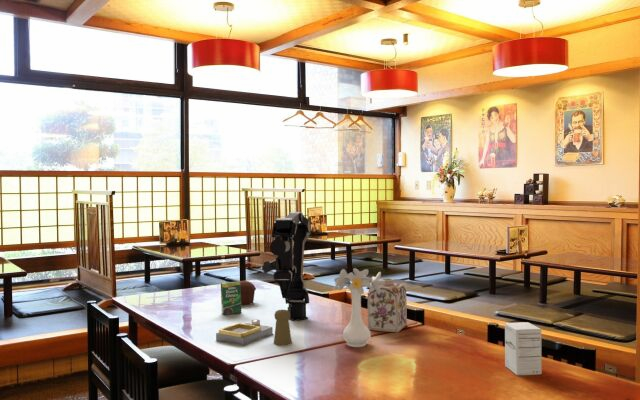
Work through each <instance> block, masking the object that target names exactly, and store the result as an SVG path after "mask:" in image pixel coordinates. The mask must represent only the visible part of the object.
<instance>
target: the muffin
mask: <svg viewBox="0 0 640 400" xmlns="http://www.w3.org/2000/svg"><path fill="white" fill-rule="evenodd" d="M238 281H239V282H240V288H241V306H250V305H252V304H254V299H255V291H256V290H257V287H256V286H255V285H254V284H253V283H252V282H251V281H248V280H238Z"/></svg>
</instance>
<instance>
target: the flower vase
mask: <svg viewBox="0 0 640 400" xmlns="http://www.w3.org/2000/svg"><path fill="white" fill-rule="evenodd" d="M352 270H353V272H349V273H348V272H347V270H346V269H345V268H342V269H341V270H340V272H339V276H338V277H335V278H334V279H333V282H334V285H335V286H334V287H333V288H332V290H331V291H334V290H335V289H337V290H338V291H342V290H343V289H345V288H344V287H346V288H348V290H349V291H350V295H351V316H350V320H349V322H348V324H347V325H346V326H345V327H344V329H343V332H342V338H343V340H344V341H345V342H347V346H349V347H351V348H363V347H366V346H367V342H368V341H370V339H371V337H372V333H371V330H369V329H368V325H366V324H365V322H364V320H363V316H362V315H363V313H362V295H363V294H365V293H364V292H365V290H364V287H367V288H369V289H370V288H371V291H372V292H373V291H374V289H375V290H376V292H377V293H378V294H380V288H379V286H382V285H384V284H385V281H384V280H381V279H380V278H381V276H382V272H381V271H379V272H378V273H377V274H376V276H372V277H369V276H368V274H369V269H368V268H366V269H364V270H363V269H362V270H361V271H360V270H359V269H357V268H356V267H354V268H353V269H352ZM371 285H372V286H371ZM377 285H378V286H377Z"/></svg>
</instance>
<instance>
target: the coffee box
mask: <svg viewBox="0 0 640 400" xmlns="http://www.w3.org/2000/svg"><path fill="white" fill-rule="evenodd" d="M239 281H240V280H236V281H230V282H221V283H220V300H221V304H220V305H221V315H223V316H226V315H228V316H229V315H235V314H242V305H241V288H240V282H239Z"/></svg>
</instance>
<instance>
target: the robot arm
mask: <svg viewBox="0 0 640 400" xmlns="http://www.w3.org/2000/svg"><path fill="white" fill-rule="evenodd" d="M310 234H311V223H310V220H309V218H307V217H305V216H304V214H303V212H301V211H291V212H289V213H288V214H287V215H286V216H285V217H283V218H282V217H281V218H275V221H274V222H273V226H272V231H271V238H274V240H272V241H271V242H270V245H269V249H270V252H271V253H272V254H273V255H274V256H276V257H275V259H274V260H271V261H269V260H265V261H263V263H262V264H261V270H262V271H263V273H264V274H267V273H270V272H271V271H274V270H275V272H274V273H273V280H274V282H276V283H277V284H278V285H279V286H278V287H279V289H280V293H281V297H282V299H285V304H286V305H287V304H288V306H287V310H288V311H289V313H290V318H289V320H292V321H294V322H295V321H301V320H306V319H309V317H308V316H307V304H310V295H309V291H308V289H307V285H306V283H305V281H304V279H303V275H304V274H303V273H304V272H303V271H304V256H305V255H304V254H305V244H306V242H307V241H308V239H309V236H310Z"/></svg>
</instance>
